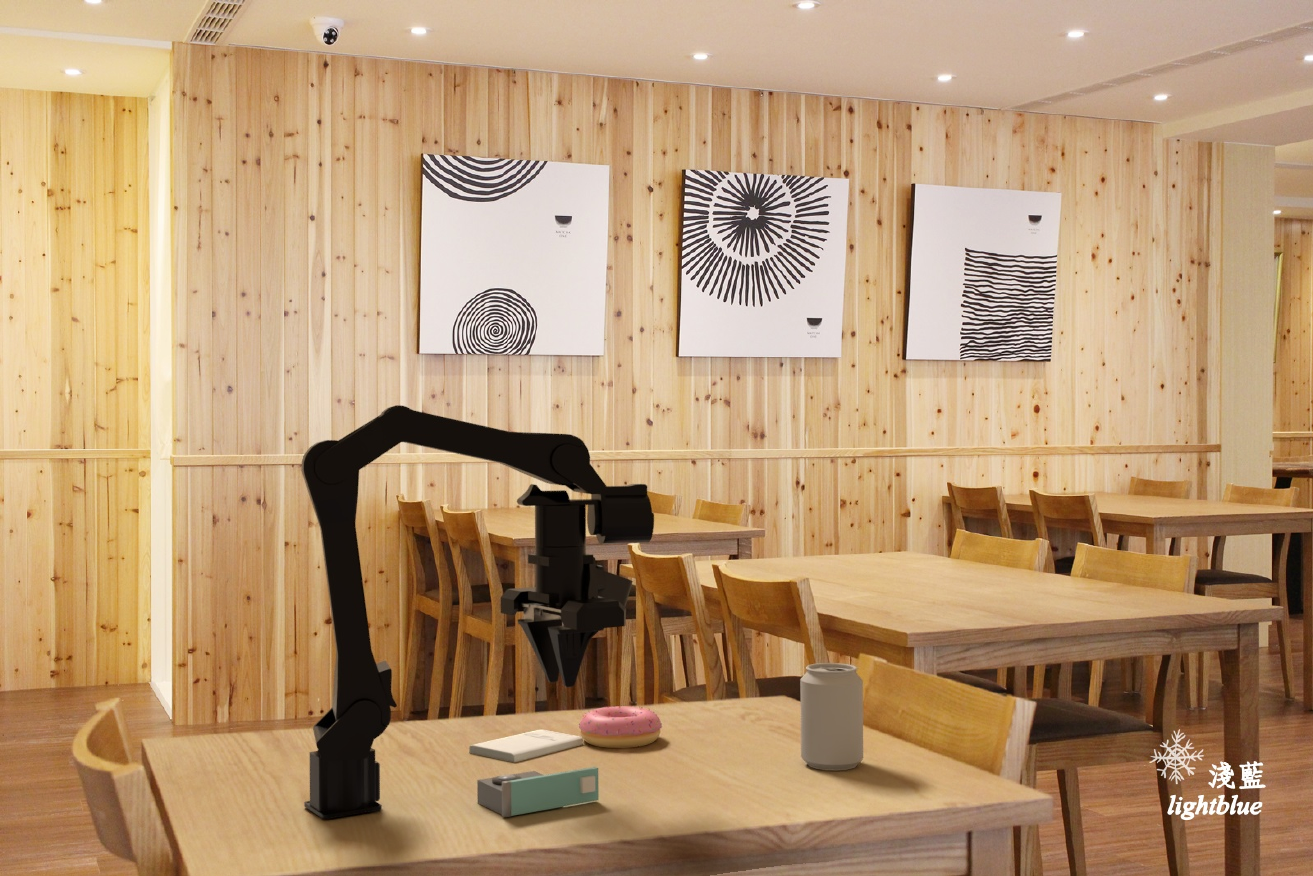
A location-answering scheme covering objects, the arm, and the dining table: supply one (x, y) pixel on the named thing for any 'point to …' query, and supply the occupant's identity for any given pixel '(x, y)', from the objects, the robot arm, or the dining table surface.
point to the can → (831, 716)
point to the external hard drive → (526, 745)
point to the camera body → (497, 789)
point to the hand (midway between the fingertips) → (561, 684)
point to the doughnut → (620, 727)
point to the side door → (549, 791)
